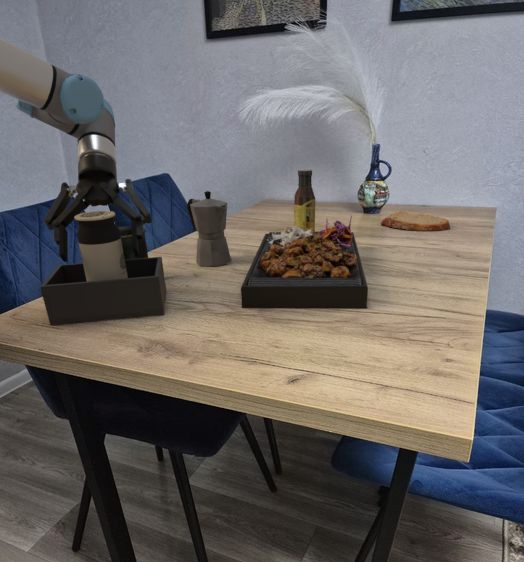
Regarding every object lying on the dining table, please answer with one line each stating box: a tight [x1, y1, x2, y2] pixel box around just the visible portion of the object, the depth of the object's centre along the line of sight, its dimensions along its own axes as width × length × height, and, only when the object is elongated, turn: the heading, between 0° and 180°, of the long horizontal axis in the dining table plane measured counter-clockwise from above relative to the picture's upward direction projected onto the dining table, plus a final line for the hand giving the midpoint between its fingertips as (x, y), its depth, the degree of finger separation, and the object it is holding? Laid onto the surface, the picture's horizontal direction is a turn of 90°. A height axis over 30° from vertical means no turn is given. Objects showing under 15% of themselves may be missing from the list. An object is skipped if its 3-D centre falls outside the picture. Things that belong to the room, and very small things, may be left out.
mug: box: [117, 225, 149, 259], centre depth 109 cm, size 11×15×12 cm
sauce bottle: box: [293, 169, 316, 232], centre depth 138 cm, size 6×6×20 cm
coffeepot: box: [186, 190, 232, 268], centre depth 121 cm, size 15×9×18 cm, turn 45°
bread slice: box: [380, 211, 451, 232], centre depth 152 cm, size 18×18×4 cm
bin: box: [39, 256, 167, 326], centre depth 96 cm, size 22×15×8 cm
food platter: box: [240, 214, 369, 309], centre depth 111 cm, size 45×25×10 cm, turn 174°
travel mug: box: [74, 210, 128, 282], centre depth 94 cm, size 8×8×18 cm
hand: (100, 255), depth 91 cm, fingers open, 13 cm apart
